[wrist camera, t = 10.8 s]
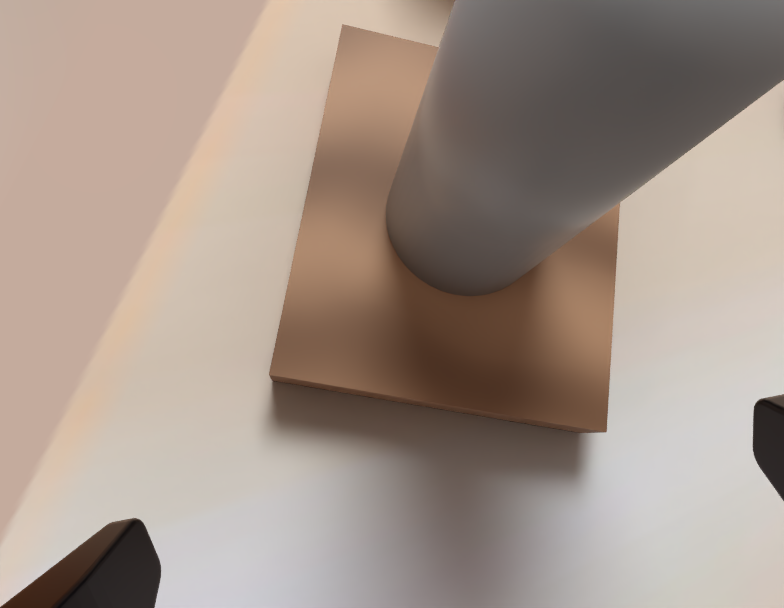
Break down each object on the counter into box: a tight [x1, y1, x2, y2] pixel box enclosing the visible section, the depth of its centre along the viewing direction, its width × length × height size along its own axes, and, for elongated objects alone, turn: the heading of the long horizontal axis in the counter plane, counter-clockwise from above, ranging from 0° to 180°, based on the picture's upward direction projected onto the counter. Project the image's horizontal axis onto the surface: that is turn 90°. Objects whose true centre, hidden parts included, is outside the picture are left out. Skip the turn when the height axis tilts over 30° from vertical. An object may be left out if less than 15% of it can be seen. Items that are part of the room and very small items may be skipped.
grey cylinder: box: [386, 0, 784, 296], centre depth 15 cm, size 6×6×13 cm
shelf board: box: [269, 24, 620, 433], centre depth 22 cm, size 14×12×2 cm
